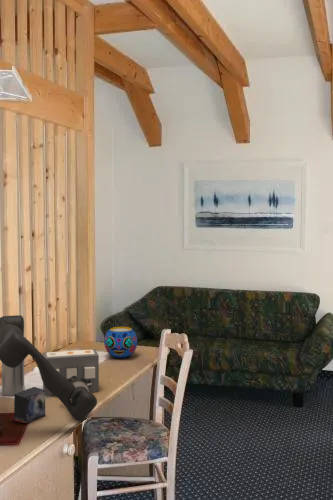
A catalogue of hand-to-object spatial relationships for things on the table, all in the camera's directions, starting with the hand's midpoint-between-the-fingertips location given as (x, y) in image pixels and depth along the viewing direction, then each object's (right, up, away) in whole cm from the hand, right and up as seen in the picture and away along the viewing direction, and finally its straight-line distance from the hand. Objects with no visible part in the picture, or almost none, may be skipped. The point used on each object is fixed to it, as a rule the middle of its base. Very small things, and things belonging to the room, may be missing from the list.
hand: (74, 378), depth 236 cm
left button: (-9, -1, +3) cm, 9 cm away
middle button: (-2, -1, +7) cm, 7 cm away
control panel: (-3, -8, +10) cm, 13 cm away
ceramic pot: (+14, -4, +65) cm, 66 cm away
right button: (+6, -1, +7) cm, 9 cm away
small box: (-13, -11, -22) cm, 28 cm away
